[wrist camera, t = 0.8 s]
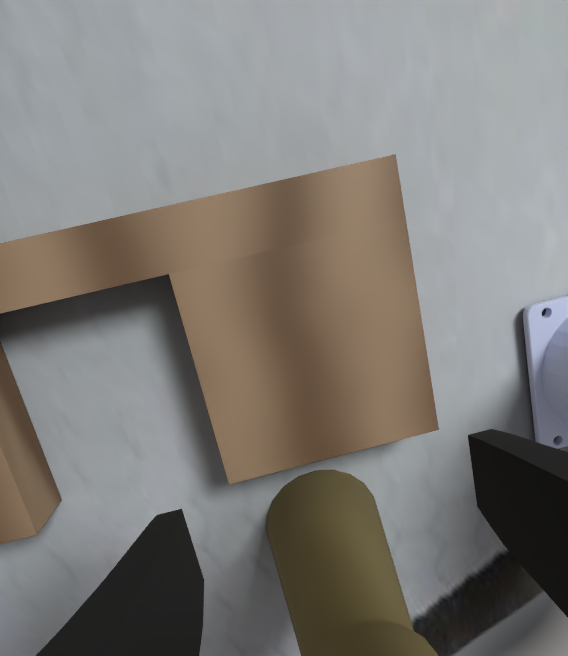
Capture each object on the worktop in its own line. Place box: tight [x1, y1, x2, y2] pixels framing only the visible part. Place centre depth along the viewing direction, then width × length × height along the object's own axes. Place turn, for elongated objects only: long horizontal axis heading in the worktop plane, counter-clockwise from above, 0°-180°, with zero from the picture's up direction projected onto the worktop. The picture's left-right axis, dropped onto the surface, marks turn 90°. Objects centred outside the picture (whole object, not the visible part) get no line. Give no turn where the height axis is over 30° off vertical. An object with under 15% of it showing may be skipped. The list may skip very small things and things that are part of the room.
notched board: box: [0, 154, 439, 544], centre depth 18 cm, size 22×12×2 cm, turn 103°
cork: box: [267, 470, 438, 656], centre depth 17 cm, size 6×6×11 cm
